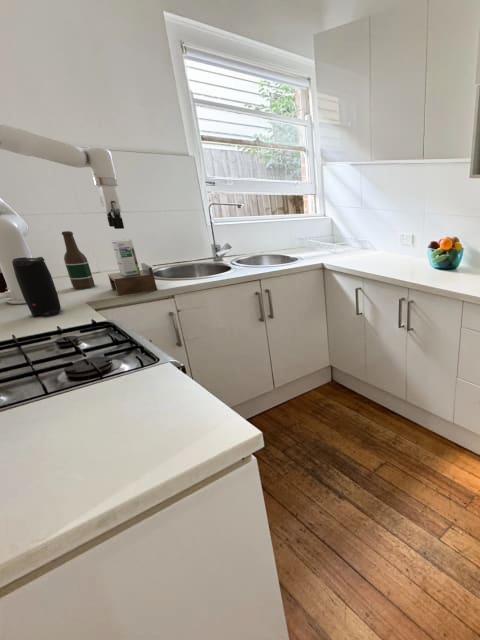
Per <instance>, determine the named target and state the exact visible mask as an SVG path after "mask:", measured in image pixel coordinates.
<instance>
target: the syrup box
mask: <svg viewBox="0 0 480 640" xmlns="http://www.w3.org/2000/svg"><path fill="white" fill-rule="evenodd" d="M111 245H112V248H113V252H114V255H115V258H116V262H117V266H118V269H119V273H121V274H122V275H124V276H128V275H135V274H140V270H141V269H140V266H139V263H138V259H137V255H136V251H135V248H134V243H133V241H132V239H130V238H123V239H112V240H111Z"/></svg>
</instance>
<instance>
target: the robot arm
mask: <svg viewBox="0 0 480 640" xmlns="http://www.w3.org/2000/svg"><path fill="white" fill-rule="evenodd" d="M0 150H3V151H7V152H9V153H10V152H11V153H15V154H18V155H23V156H26V157H33V158H38V159H42V160H46V161H50V162H53V163H58V164H61V165H65V166H69V167H72V168H79V169H81V168H89V169H90V172H91V177H92V180H93V184H94V187H97V189H98V195H99V200H100V204H101V211H102V212H103V213H106V218H107V221H108V222H107V223H108V226H109V227H112V228H114V229H115V230H123V229H125V225H124V221H123V218H122V215H121V213H122V208H121V203H120V198H119V194H118V191H117V188H119V182H118V179H117V174H116V169H115V165H114V161H113V156H112V153H111V151H110V150H109V149H108V148H104V147H103V148H102V147H87V148H86V147H80V146H77V145H74V144H71V143H68V142H63V141H60V140H56V139H53V138H51V137H46V136H43V135H40V134H36V133H34V132H31V131H29V130H26V129H22V128H20V127H15V126H12V125H8V124H5V123H2V122H0ZM28 233H29V226H28V224H27V222H26V221H25V220H24V219H23V217H21V215H19V214H18V213H17V212H16V211H15V210H14V209H13V208H12V207H11V206H10V205H9V204H8V203H7V202H6V201H4V199H2V198H1V197H0V271H1V273H2V275H3V278H4V280H5V284H6V286H7V288H8V289H7V291H6V290H5V291H4V292H0V300H1V299H6V301H7V303H8V304H11V305H22V304H23V305H25V304H27V303H26V301H25V299H24V297H23V295H22V292H21V289H20V287H19V284H18V281H17V279H16V276H15V272H14V268H13V264H12V261H13V259H16V258H23V257H26V258H33V256H32V252H31V250H30V247H29V246H28V244H27V241H26V239H25V237H26V236H27V235H28Z"/></svg>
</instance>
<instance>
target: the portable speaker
mask: <svg viewBox="0 0 480 640" xmlns="http://www.w3.org/2000/svg"><path fill="white" fill-rule="evenodd" d="M12 264H13V268H14V272H15V276H16V279H17V281H18V284H19V287H20V289H21V292H22V295H23V297H24V299H25V301H26V303H25V304H26V305H27V308H28V310H29V311H30V314H31V316H32V317H33V318H34V317H35V318H36V317H37V316H42V315H43V316H45V317H52V316H56V315H59V314H60V312H61V310H62V306H61V302H60V299H59V298H60V297H59V294H58V290H57V288H56V285H55V283H54V279H53V277H52V274H51V272H50V270H49V267H48V266H47V263H46V260H45V258H44V257H43V256H37V257H32V258H26V257H23V258H16V259H13V261H12Z"/></svg>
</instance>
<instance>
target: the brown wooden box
mask: <svg viewBox="0 0 480 640" xmlns="http://www.w3.org/2000/svg"><path fill="white" fill-rule="evenodd" d="M140 266H141V269H139V270H140V274H135V275H128V276H124V275H122V274H121V273H120V272H113V273H112V272H111V273H108V274H107V277H108V280H109V284H110V286H111V290H112V291H116V292H117V296H125V295H133V294H138V293H139V294H140V293H146V292H153V291H158V288H157V283H156V279H155V275H154V271H153V267H152V266H150V265H148V264H147V263H145V262H142V263H140Z"/></svg>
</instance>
